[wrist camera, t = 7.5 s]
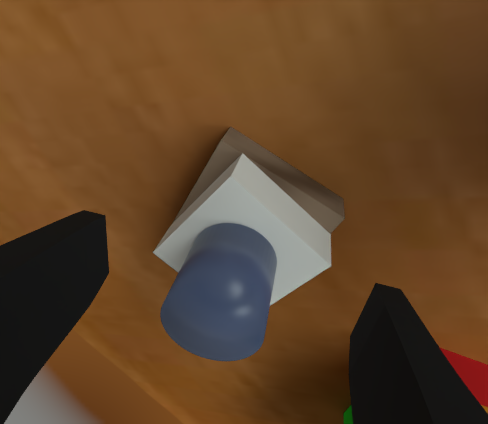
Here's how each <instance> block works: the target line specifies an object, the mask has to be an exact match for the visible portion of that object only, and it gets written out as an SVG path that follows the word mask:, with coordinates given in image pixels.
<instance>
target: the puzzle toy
mask: <svg viewBox="0 0 488 424" xmlns="http://www.w3.org/2000/svg"><path fill="white" fill-rule="evenodd" d="M440 349H441V351H442V352H443V354H444V355H445V357H446V358H447V359H448V361H449V362H450V364H451V365H452V367H453V368H454V369H455V371H456V372H457V374H458V375H459V376H460V378H461V379H462V380H463V382H464V383H465V385H466V386H467V387H468V389H469V390H470V391H471V393H472V394H473V395H474V396H475V398H476V399H477V400H478V402H479V403H480V404H481V406H482V407H483V408H484V410H485V411H486V412H487V413H488V365H486V364H484V363H481V362H478V361H475V360H473V359H470V358H467V357H464V356H461V355H459V354H456V353H453V352H450V351H448V350H445V349H442V348H440ZM343 417H344V424H353V419H352V408H351V405H350V407H349V408H348V409H347V410H346V411H345V412H344V414H343Z"/></svg>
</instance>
